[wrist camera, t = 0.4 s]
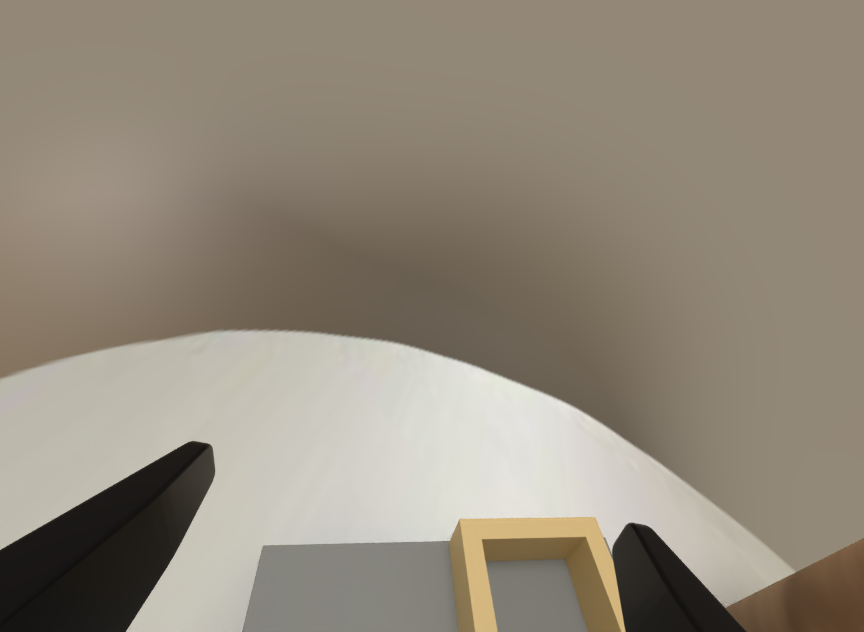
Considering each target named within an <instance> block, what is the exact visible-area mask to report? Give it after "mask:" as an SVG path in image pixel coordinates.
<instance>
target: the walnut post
mask: <svg viewBox="0 0 864 632" xmlns="http://www.w3.org/2000/svg"><path fill="white" fill-rule="evenodd" d="M725 609H726V610H727V611H728V612H729V613H730V614H731V615H732V616H733V617H734V618H735V619H736V620H737V622H738V623H739V624H740V625H741V626H742V627H743V628H744V629H745V630H746V631H747V632H864V538H863V539H861V540H859V541H857V542H855V543H853V544H851V545H849V546H848V547H845V548H843V549H841V550H840V551H837V552H835V553H833V554H831V555H829V556H828V557H825V558H824V559H822V560H820V561H818V562H816V563H814V564H812V565H810V566H808V567H806V568H804V569H802V570H800V571H798V572H796V573H794V574H792V575H790V576H788V577H786V578H784V579H782V580H780V581H778V582H776V583H774V584H772V585H770V586H768V587H766V588H764V589H762V590H760V591H758V592H756V593H754V594H752V595H750V596H748V597H746V598H744V599H742V600H740V601H738V602H736V603H734V604H732V605H730V606H728V607H726V608H725Z"/></svg>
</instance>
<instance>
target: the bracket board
mask: <svg viewBox="0 0 864 632" xmlns="http://www.w3.org/2000/svg"><path fill="white" fill-rule="evenodd" d="M242 632H625V627H624V621H623V615H622V610H621V604H620V598H619V592H618V586H617V580H616V575H615V569H614V563H613V557H612V554H611V551H610V549H609V546H608V544H607V541H606V539H605V537H604V538H603V535H602V533H601V530H600V528H599V526H598V523H597V521H596V518H595V517H574V518H502V519H460V520H459V522H458V524H457V526H456V529H455V531H454V533H453V535H452V537H451V540H450V541H437V542H395V543H354V544H312V545H270V546H263V547H262V552H261V556H260V560H259V564H258V568H257V572H256V577H255V581H254V585H253V589H252V593H251V597H250V602H249V606H248V610H247V614H246V618H245V622H244V627H243V631H242Z"/></svg>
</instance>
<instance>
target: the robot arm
mask: <svg viewBox="0 0 864 632" xmlns="http://www.w3.org/2000/svg"><path fill="white" fill-rule="evenodd" d="M214 476H215V464H214V455H213V448H212V446H211V445H210V444H207V443H202V442H197V441H191V442H188V443H186V444H184V445H182V446H181V447H179V448H177V449H175V450H174V451H172V452H170V453H168V454H167V455H165V456H163V457H161V458H160V459H158V460H156V461H154V462H153V463H151V464H149V465H148V466H146V467H144V468H142V469H141V470H139V471H137V472H135V473H134V474H132V475H130V476H128V477H127V478H125V479H123V480H121V481H120V482H118V483H116V484H114V485H113V486H111V487H109V488H107V489H106V490H104V491H102V492H100V493H99V494H97V495H95V496H93V497H92V498H90V499H88V500H86V501H85V502H83V503H81V504H80V505H78V506H76V507H74V508H73V509H71V510H69V511H67V512H66V513H64V514H62V515H60V516H59V517H57V518H55V519H53V520H52V521H50V522H48V523H46V524H45V525H43V526H41V527H39V528H38V529H36V530H34V531H32V532H31V533H29V534H27V535H25V536H24V537H22V538H20V539H19V540H17V541H15V542H13V543H12V544H10V545H8V546H6V547H5V548H3V549H1V550H0V632H126V630H127V629H128V627H129V626H130V624H131V623H132V621H133V620H134V618H135V616H136V615H137V613H138V612H139V610H140V609H141V607H142V605H143V604H144V602H145V601H146V599H147V598H148V596H149V595H150V593H151V591H152V590H153V588H154V587H155V585H156V584H157V582H158V581H159V579H160V577H161V576H162V574H163V573H164V571H165V570H166V568H167V566H168V565H169V563H170V561H171V560H172V558H173V556H174V555H175V553H176V551H177V549H178V547H179V545H180V544H181V542H182V540H183V538H184V536H185V534H186V532H187V530H188V528H189V526H190V524H191V522H192V520H193V518H194V517H195V515H196V513H197V511H198V509H199V507H200V505H201V503H202V501H203V499H204V497H205V495H206V493H207V491H208V489H209V488H210V486H211V484H212V482H213V479H214ZM612 557H613V563H614V569H615V575H616V580H617V586H618V592H619V598H620V604H621V610H622V615H623V621H624V627H625V632H747V631H746V630H745V629H744V628H743V627H742V626H741V625H740V624H739V623H738V622H737V620H736V619H735V618H734V617H733V616H732V615H731V614H730V613H729V612H728V611H727V610H726V609H725V607H724V606H723V605H722V604H721V603H720V602H719V601H718V600H717V599H716V598H715V597H714V596H713V594H712V593H711V592H710V591H709V590H708V589H707V588H706V587H705V586H704V585H703V584H702V582H701V581H700V580H699V579H698V578H697V577H696V576H695V575H694V574H693V573H692V572H691V571H690V569H689V568H688V567H687V566H686V565H685V564H684V563H683V562H682V561H681V560H680V559H679V558H678V556H677V555H676V554H675V553H674V552H673V551H672V550H671V549H670V548H669V547H668V546H667V545H666V543H665V542H664V541H663V540H662V539H661V538H660V537H659V536H658V535H657V534H656V533H655V532H654V531H653V530H652V529H651V528H650V527H648V526H646V525H642V524H636V523H628V524H627V525H626V526H625V527H624V529H623V531H622V532H621V534H620V535H619V537H618V538H617V540H616V541H615V543H614V545H613V549H612Z"/></svg>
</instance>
